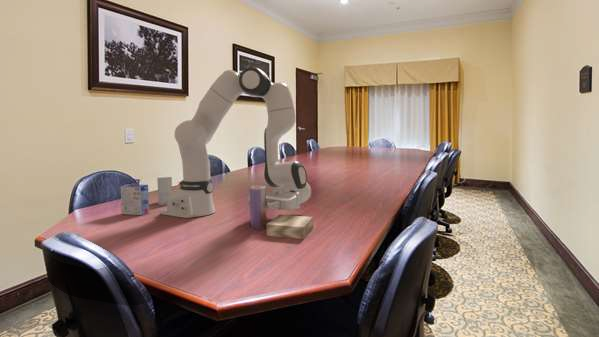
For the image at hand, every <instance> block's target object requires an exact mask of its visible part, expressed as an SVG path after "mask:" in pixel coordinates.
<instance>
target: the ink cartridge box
mask: <svg viewBox="0 0 599 337" xmlns="http://www.w3.org/2000/svg"><path fill="white" fill-rule="evenodd" d="M140 181H141V179H139V178H138V179H137V178H135V179H134V178H132V180H131V183H130V184H124V185H121V186H120V200H121V205H120V206H121V214H122V215H129V216H130V215H131V216H143V215H146V214H149V213H150V198H149V185H148V184H140Z"/></svg>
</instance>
